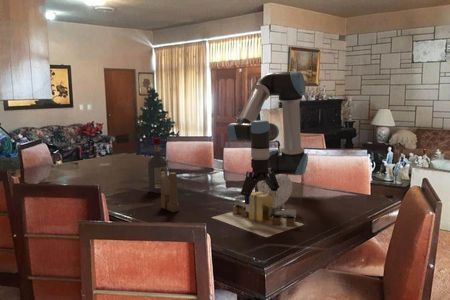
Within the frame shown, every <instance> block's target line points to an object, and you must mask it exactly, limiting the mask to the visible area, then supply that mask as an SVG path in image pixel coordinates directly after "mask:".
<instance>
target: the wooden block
mask: <svg viewBox="0 0 450 300" xmlns="http://www.w3.org/2000/svg"><path fill="white" fill-rule="evenodd" d="M177 177H178V175H177V172H173V171H172V172H168V180H167V178H163V179H160V185H161V193H160V203H161V209H164V210H167V211H169V212H171V213H176V212H179V211H180V203H179V202H178V178H177Z"/></svg>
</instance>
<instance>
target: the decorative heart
mask: <svg viewBox="0 0 450 300" xmlns="http://www.w3.org/2000/svg"><path fill="white" fill-rule="evenodd" d="M268 176H269V174H268ZM275 177H276V179H277V182H278V185H279V186H280V187H279V188H277V189H278V190H277V191H275V194H276V195H275V206H273V209H281V206H282V209H285V203H286V202H288V200H289V199H290V196H292V195H291V194H292V191H293V182H292V180H291V177H290V176H288V175H287V174H278V175H275ZM279 180H280V181H279ZM264 182H265V181H263V180H262V181H259V182H258V183H257V187H258V191H259V192H263V191H264V192H263V193H267V194H269V190H271V189H270V188H269V186H268V185H267V184H266V182H265V183H264ZM263 186H264V188H263ZM260 189H261V190H260Z"/></svg>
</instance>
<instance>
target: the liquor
mask: <svg viewBox="0 0 450 300" xmlns="http://www.w3.org/2000/svg"><path fill="white" fill-rule="evenodd" d="M152 141H153V155H152V157H151V159H149V161H148V163H147V165H148V166H147V168H148V190H149V192H150V193H153V192H154V193H153V194H161V185H160V179H163V178H167V180H168V181H169V173H168V161H167V160H166V158H165V157H163V156H162V153H161V138H160V137H153V140H152Z"/></svg>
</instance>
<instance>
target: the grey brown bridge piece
mask: <svg viewBox="0 0 450 300" xmlns="http://www.w3.org/2000/svg"><path fill="white" fill-rule="evenodd" d="M272 216H273V226H280V225H281V222H282V218H285V219H286V226H288V227H294V225H295V222H296V218H297V210H296V209H287V208H284V209H283V208H280V209H279V208H274V209H273V207H270V209H269V217H270V218H272Z"/></svg>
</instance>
